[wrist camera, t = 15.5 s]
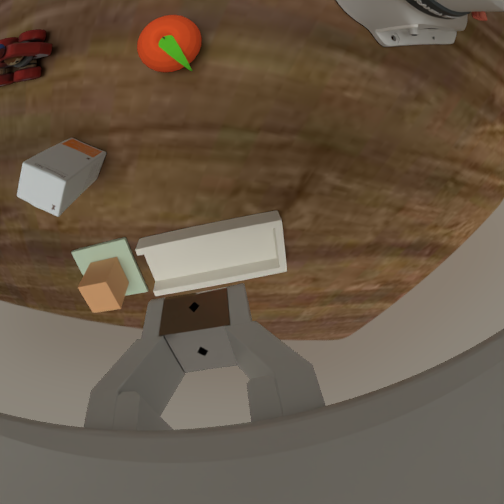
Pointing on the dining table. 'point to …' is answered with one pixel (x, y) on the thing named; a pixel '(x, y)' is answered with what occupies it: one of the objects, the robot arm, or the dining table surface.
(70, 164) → the skincare box
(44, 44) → the toy fire truck
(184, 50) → the clementine
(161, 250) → the chute
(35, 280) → the dining table surface
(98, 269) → the block
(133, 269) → the pad
